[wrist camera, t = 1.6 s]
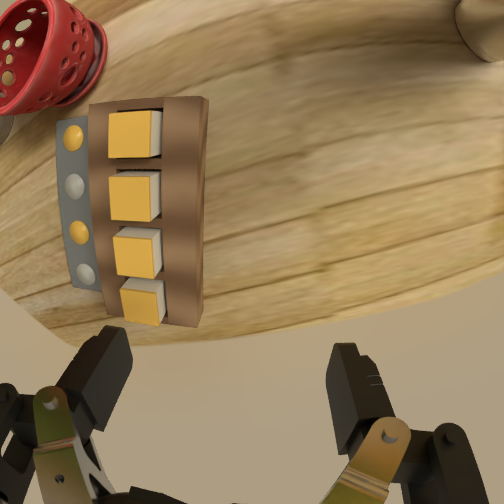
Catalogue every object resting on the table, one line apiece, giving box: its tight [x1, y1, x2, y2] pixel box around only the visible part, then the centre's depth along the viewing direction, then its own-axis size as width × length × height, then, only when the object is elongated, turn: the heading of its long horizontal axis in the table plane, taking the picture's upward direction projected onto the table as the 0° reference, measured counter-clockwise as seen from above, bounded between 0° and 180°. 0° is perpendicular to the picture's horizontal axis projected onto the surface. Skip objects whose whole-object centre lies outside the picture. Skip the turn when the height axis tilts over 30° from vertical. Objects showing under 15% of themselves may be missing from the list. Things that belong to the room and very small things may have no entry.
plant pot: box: [0, 0, 108, 116], centre depth 19 cm, size 13×13×12 cm
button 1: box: [108, 110, 163, 158], centre depth 25 cm, size 4×4×4 cm
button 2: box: [109, 170, 162, 222], centre depth 27 cm, size 4×4×4 cm
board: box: [88, 96, 209, 328], centre depth 31 cm, size 25×12×4 cm, turn 176°
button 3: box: [113, 226, 164, 279], centre depth 30 cm, size 4×4×4 cm
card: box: [56, 116, 102, 292], centre depth 32 cm, size 23×6×1 cm, turn 176°
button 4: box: [120, 277, 167, 326], centre depth 32 cm, size 4×4×4 cm
